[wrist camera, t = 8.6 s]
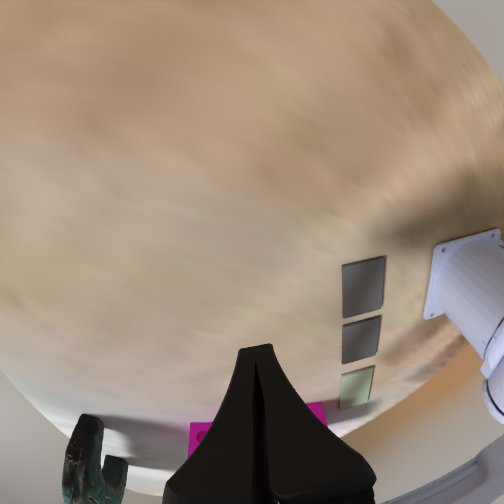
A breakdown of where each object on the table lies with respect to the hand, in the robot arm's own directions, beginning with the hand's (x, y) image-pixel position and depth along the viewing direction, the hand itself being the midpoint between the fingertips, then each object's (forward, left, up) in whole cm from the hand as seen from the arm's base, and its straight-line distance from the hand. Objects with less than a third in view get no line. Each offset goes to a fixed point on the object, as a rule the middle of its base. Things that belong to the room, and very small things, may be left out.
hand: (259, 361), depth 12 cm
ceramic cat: (+28, +27, -10) cm, 40 cm away
